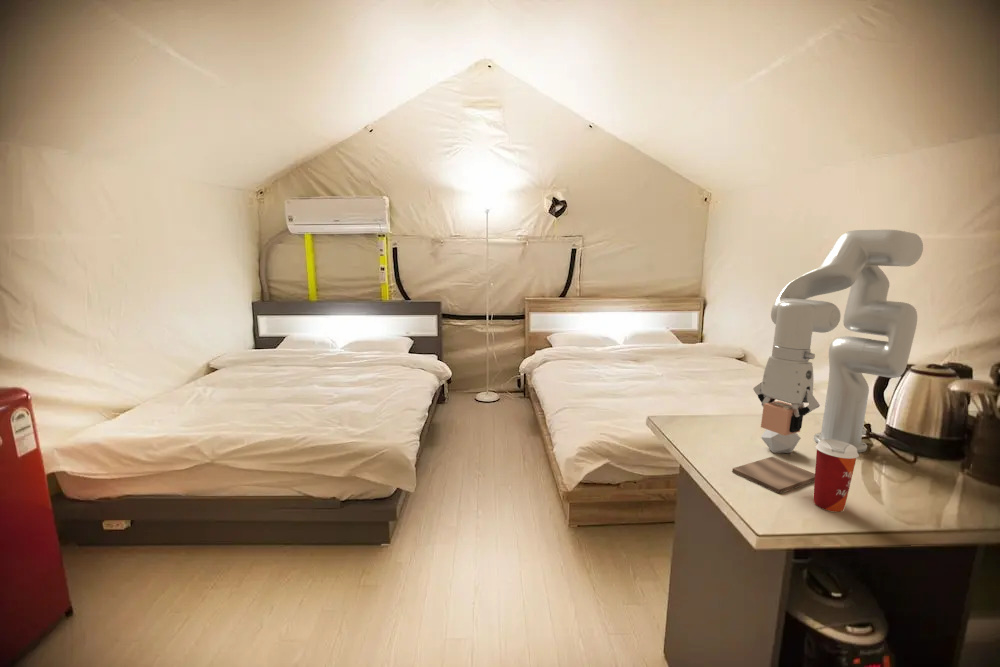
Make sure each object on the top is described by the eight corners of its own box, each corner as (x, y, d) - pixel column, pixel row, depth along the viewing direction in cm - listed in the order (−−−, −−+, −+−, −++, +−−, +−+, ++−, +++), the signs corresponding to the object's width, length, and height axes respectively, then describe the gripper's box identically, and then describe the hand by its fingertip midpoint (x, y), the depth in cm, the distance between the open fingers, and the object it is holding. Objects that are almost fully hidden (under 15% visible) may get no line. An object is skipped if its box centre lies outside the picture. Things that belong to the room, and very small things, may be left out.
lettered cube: (775, 423, 120) (778, 399, 119) (800, 431, 115) (803, 407, 114) (760, 427, 117) (763, 402, 116) (784, 435, 112) (788, 410, 111)
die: (786, 447, 138) (766, 418, 139) (812, 443, 130) (791, 412, 132) (770, 462, 134) (749, 432, 136) (795, 459, 127) (774, 427, 128)
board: (771, 460, 127) (771, 456, 127) (818, 479, 117) (819, 475, 117) (732, 472, 120) (732, 468, 120) (778, 493, 109) (779, 489, 109)
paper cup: (851, 518, 100) (861, 455, 97) (807, 507, 104) (816, 446, 101) (848, 502, 106) (857, 442, 104) (807, 492, 110) (815, 435, 108)
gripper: (838, 360, 107) (827, 436, 110) (765, 346, 122) (757, 413, 125) (819, 363, 104) (808, 441, 107) (746, 348, 119) (738, 417, 122)
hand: (780, 426), depth 116 cm, fingers closed on lettered cube, 6 cm apart
